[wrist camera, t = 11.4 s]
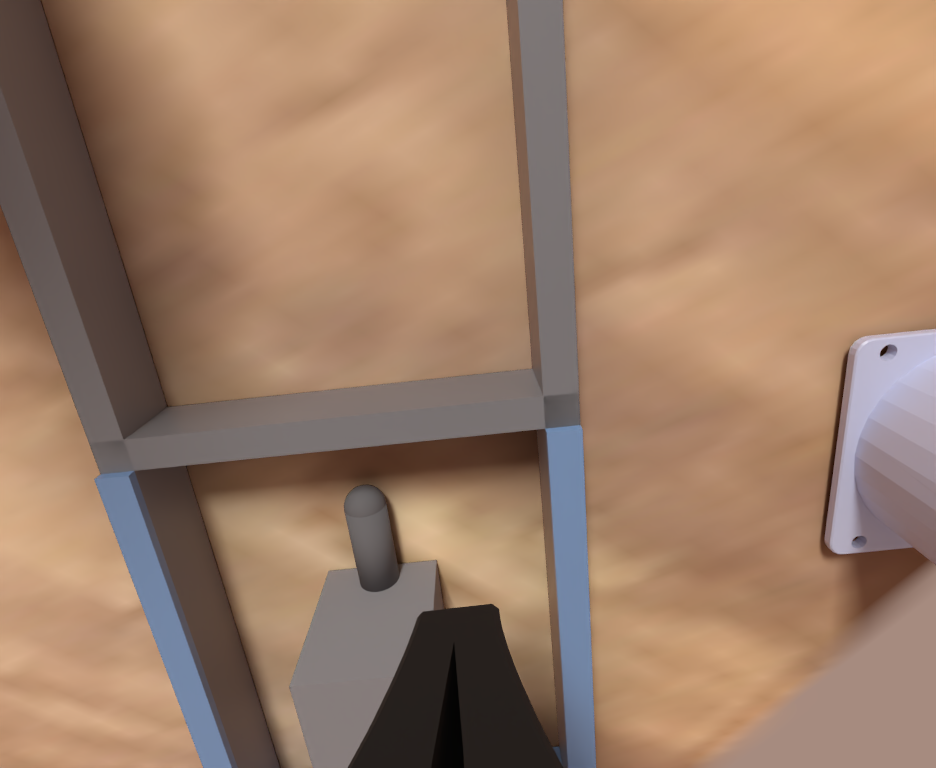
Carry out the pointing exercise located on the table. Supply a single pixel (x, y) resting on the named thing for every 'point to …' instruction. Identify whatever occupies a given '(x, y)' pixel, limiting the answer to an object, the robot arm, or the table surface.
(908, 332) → the robot arm
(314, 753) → the cord plug
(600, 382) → the table surface
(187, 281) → the table surface
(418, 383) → the grey divided rectangular frame
